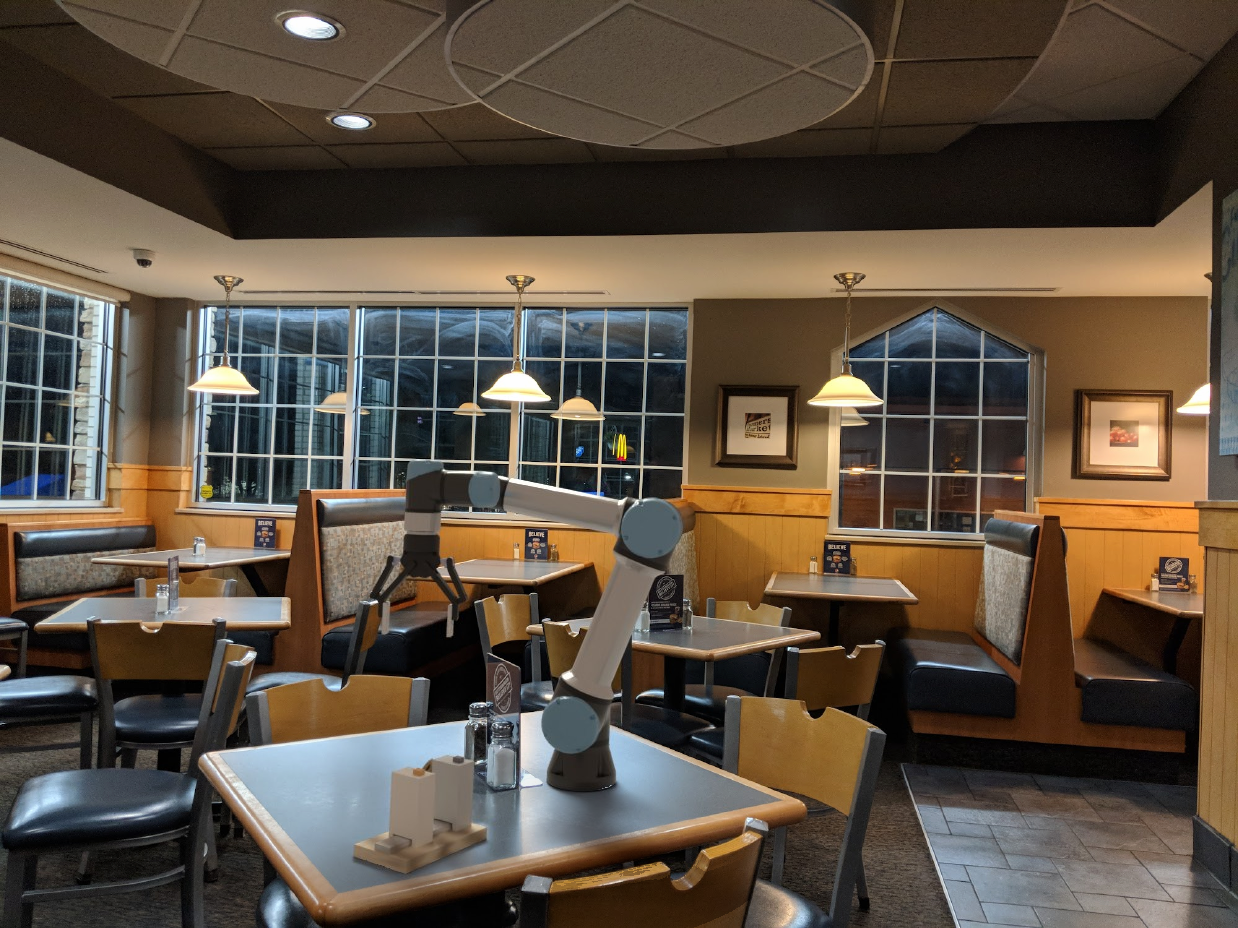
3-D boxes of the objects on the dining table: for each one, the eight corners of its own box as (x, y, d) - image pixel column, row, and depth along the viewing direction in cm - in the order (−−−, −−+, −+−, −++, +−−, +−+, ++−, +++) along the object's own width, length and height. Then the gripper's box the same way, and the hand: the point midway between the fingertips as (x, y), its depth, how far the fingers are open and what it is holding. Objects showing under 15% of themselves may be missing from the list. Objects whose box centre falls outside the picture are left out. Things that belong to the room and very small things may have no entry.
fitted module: (429, 823, 167) (432, 754, 168) (444, 817, 170) (447, 750, 171) (456, 831, 164) (459, 761, 164) (471, 825, 167) (474, 756, 168)
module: (388, 839, 159) (391, 767, 159) (405, 832, 162) (408, 762, 163) (415, 847, 155) (419, 774, 156) (432, 841, 159) (435, 768, 159)
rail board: (436, 823, 173) (437, 807, 173) (486, 838, 166) (487, 821, 166) (353, 856, 156) (354, 837, 156) (405, 873, 149) (406, 854, 150)
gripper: (484, 534, 199) (479, 634, 198) (368, 530, 199) (363, 629, 199) (478, 536, 191) (473, 639, 191) (357, 531, 192) (352, 634, 191)
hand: (417, 634), depth 195 cm, fingers open, 13 cm apart
